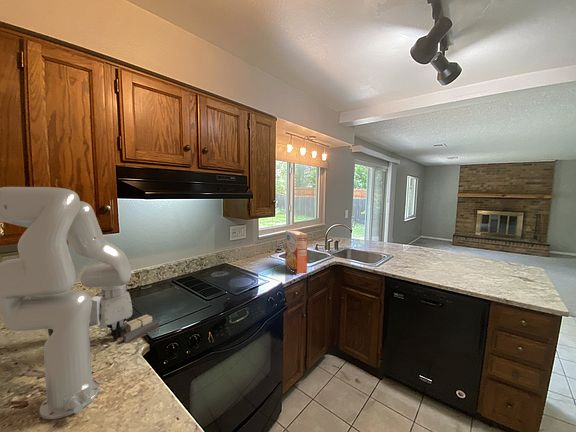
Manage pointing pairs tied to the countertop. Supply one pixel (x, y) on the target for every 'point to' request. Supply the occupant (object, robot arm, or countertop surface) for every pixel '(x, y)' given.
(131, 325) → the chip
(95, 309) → the skincare box
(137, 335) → the slot block
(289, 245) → the pasta box
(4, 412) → the countertop surface
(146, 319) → the beige cube
